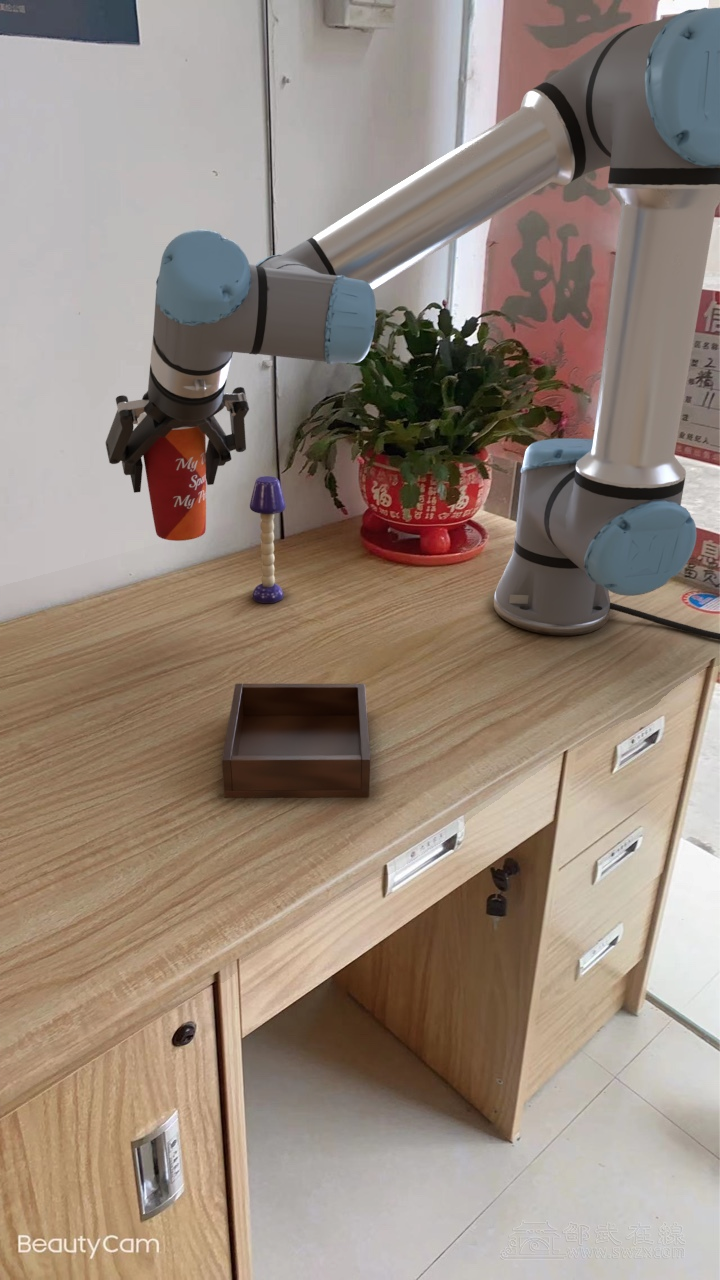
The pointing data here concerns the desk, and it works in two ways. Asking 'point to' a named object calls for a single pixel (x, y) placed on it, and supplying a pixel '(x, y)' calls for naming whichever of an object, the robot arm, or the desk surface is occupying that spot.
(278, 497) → the toy lamp
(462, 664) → the desk surface
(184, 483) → the coffee cup
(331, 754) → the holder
